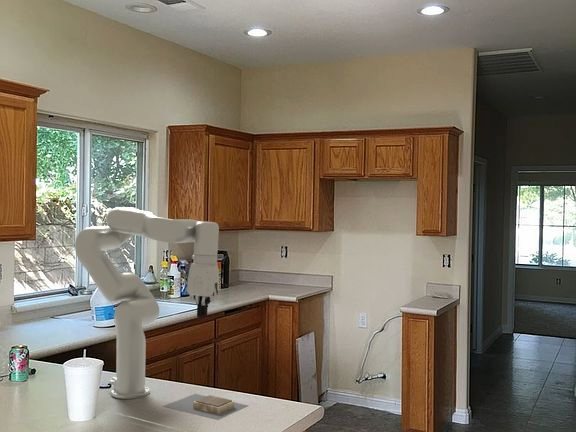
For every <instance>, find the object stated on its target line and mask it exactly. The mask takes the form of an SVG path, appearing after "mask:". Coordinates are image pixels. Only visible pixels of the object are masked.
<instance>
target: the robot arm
mask: <svg viewBox="0 0 576 432" xmlns="http://www.w3.org/2000/svg"><path fill="white" fill-rule="evenodd" d="M105 219H106V220H105V223H106V225H101V226H100V225H98V226H97V225H96V226H90V227H86V228H83V229H82V230H80V231H79V232H78V234H77V235H76V238H75V242H74V249H75V255H76V257H77V259H78V261H79V263H80V264H81V265H82V267H83V269H85V270H86V271H87V273H88V274H89V276H90V277H91V279H92V281H93V282H94V283H95V285H96V287H97V288H98V289H99V292H100V293H101V294H102V296H103V297H104V298H105V300H106V301H107V302H108V303H109V302H110V303H120V304H119V305H118V306H117V307H116V308H115V311H114V313H113V320H114V326H115V334H116V335H115V336H116V371H115V373H116V374H115V377H114V376H113V377H112V379H110V380H109V382H108V383H109V384H110V385H113V388H112V390H111V391H110V394H111V396H112V397H113V398H116V399H122V400H129V399H130V400H131V399H133V400H134V399H139V398H140V399H141V398H143V397H147V396H148V395H149V394H150V391H151V390H150V388H149V387H148V386H146V351H147V350H146V346H147V345H146V343H147V341H146V336H145V332H144V329H143V326H146V325H149V324H152V323H154V322H155V321H156V320H157V319H158V318H159V316H160V307H159V304H158V301H157V300H156V298H155V297H154V295H153V294H152V293H151V290H150V289H149V288H148V287H147V285H146V284H145V282H144V280H142V277H140V276H139V275H137V274H136V273H134V272H133V273H132V272H122V273H121V272H120V271H119V270H118V269H117V267H116V266H115V265H114V263H113V261H112V260H111V259H110V258H109V257H108V256H106V255H105V254H104V253H103V252H102V251H110V250H115V249H118V248H120V247H121V246H122V245H123V244H124V243H126V242H127V241H129V240H130V239H131V238H132V237H134V236H138V237H142V238H143V237H144V238H146V239H150V240H154V241H158V242H163V243H169V244H183V243H186V244H187V243H194V244H193V245H194V246H193V255H191V260H193V261H192V263H190V266H189V269H188V270H189V271H188V275H187V283H186V284H187V285H186V292H187V294H188V295H189V296H190V297H191V298H193V299H194V301H195V305H196V306H197V308H196V317H197V318H206V317H207V316H208V310H209V309H208V308H209V307H208V306H209V305H210V304H211V302H215V301H217V300H218V295H219V291H220V272H219V265H218V251H219V249H218V248H219V233H220V232H219V231H220V226H219V224H218V223H217V222H214V221H200V220H197V219H189V218H187V219H185V218H184V219H172V218H165V217H158V216H156V214H155V213H154V212H151V211H147V210H140V209H139V208H137V207H131V206H130V207H128V206H126V207H124V206H120V207H115V208H112V209H111V210H109V212H108V213H107V215H106V218H105Z"/></svg>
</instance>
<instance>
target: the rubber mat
mask: <svg viewBox="0 0 576 432" xmlns="http://www.w3.org/2000/svg"><path fill="white" fill-rule="evenodd" d="M204 397H206V395H203V394H198V393H192V394H190V395H188V396H186V397H182V398H180V399H177V400H176V401H172V402H170V403H167V404H165V405H163V406H162V407H164V408H168V409H172V410H176V411H179V412H184V413H189V414H192V415H196V416H200V417H205V418H208V419H213V420H215V421H218V420H221V419H223V418H226V417H228V416H230V415H233V414H234V413H236V412H239V411H241V410H242V409H246V408H247V407H249V405H248V404H247V405H246V404H243V403H239V402H235V401H234V408H231V409H229V410H227V411H225V412H222V413H220V414H215V413H211V412H207V411H203V410H198V409H194V408H193V402H194V401H196V400H199V399H201V398H204Z"/></svg>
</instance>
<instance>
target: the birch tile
mask: <svg viewBox="0 0 576 432" xmlns="http://www.w3.org/2000/svg"><path fill="white" fill-rule="evenodd" d="M205 396H206V395H205ZM234 402H235V400H232V399H228V398H223V397H218V396H215V395H211V394H208V395H207V396H206V397H204V398H201V399H199V400H196V401H194V402H193V408H194V409H198V410H203V411H207V412H211V413H215V414H220V413H222V412H225V411H227V410H229V409H231V408H234Z"/></svg>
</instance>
